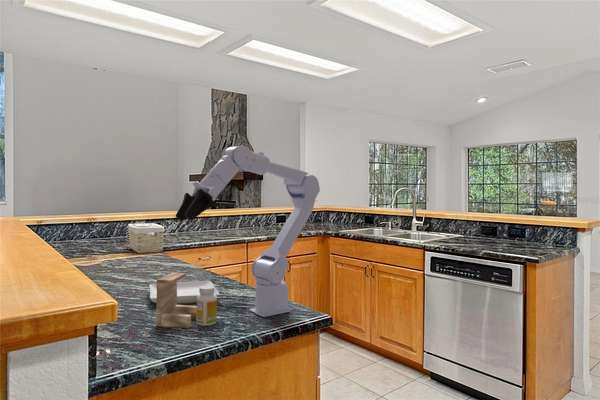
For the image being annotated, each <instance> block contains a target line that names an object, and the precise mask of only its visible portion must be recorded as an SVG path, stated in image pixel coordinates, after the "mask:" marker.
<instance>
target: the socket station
mask: <svg viewBox="0 0 600 400" xmlns="http://www.w3.org/2000/svg"><path fill="white" fill-rule="evenodd" d="M186 276H187V273H186V272H170V273H169V274H166V275H164V276H162V277H160V278H157V279H156V283H157V301H156V305H155V306H156V310H155V313H156V315H155V318H156V319H155V320H156V321H155V322H156V323H155V325H156V327H169V328H170V327H171V328H185V329H190V328H191V327H192V318H193V319H196V312H197V305H188V304H187V305H186V304H185V305H184V304H177V282H178V281H180V279H183V278H184V277H186Z"/></svg>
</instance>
